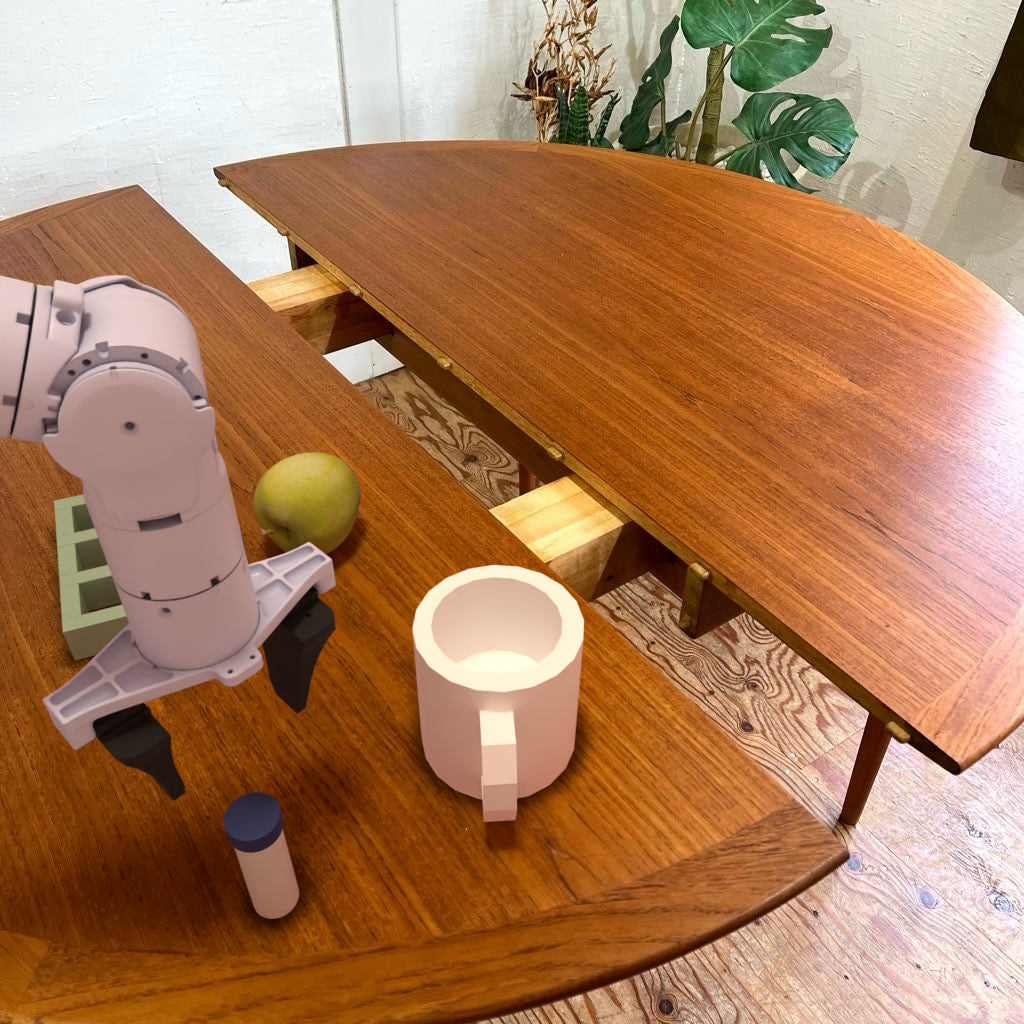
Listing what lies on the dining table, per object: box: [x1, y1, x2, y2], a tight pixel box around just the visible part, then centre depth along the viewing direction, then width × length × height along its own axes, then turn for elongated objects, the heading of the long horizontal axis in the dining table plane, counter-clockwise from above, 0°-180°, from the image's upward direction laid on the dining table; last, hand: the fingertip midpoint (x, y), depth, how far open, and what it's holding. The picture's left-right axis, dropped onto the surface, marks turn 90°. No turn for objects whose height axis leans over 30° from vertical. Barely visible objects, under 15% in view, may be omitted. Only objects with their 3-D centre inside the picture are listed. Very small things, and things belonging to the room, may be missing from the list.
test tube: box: [223, 791, 300, 920], centre depth 52 cm, size 3×3×8 cm
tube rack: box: [53, 493, 129, 661], centre depth 74 cm, size 15×6×3 cm, turn 22°
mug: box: [411, 564, 585, 823], centre depth 59 cm, size 14×10×11 cm
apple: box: [252, 451, 362, 555], centre depth 75 cm, size 8×9×8 cm
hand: (232, 741), depth 52 cm, fingers open, 7 cm apart
